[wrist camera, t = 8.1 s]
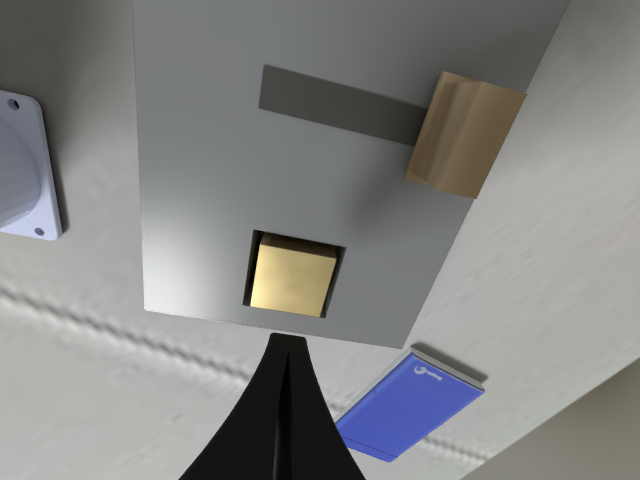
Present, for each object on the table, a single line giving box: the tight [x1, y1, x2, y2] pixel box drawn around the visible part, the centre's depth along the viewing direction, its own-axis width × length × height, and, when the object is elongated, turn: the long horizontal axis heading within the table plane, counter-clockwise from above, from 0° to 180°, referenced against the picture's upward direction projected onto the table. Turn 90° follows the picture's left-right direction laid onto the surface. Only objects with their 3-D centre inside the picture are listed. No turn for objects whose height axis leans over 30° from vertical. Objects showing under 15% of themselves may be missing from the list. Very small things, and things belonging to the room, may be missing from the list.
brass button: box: [250, 231, 337, 317], centre depth 17 cm, size 4×4×3 cm
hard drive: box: [333, 346, 485, 462], centre depth 26 cm, size 2×8×12 cm
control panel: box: [132, 0, 570, 349], centre depth 14 cm, size 16×26×3 cm, turn 167°
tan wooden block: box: [404, 71, 527, 199], centre depth 12 cm, size 2×4×3 cm, turn 167°
